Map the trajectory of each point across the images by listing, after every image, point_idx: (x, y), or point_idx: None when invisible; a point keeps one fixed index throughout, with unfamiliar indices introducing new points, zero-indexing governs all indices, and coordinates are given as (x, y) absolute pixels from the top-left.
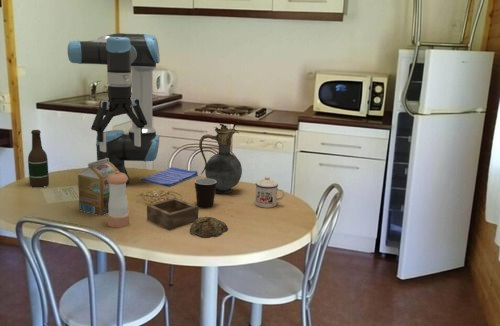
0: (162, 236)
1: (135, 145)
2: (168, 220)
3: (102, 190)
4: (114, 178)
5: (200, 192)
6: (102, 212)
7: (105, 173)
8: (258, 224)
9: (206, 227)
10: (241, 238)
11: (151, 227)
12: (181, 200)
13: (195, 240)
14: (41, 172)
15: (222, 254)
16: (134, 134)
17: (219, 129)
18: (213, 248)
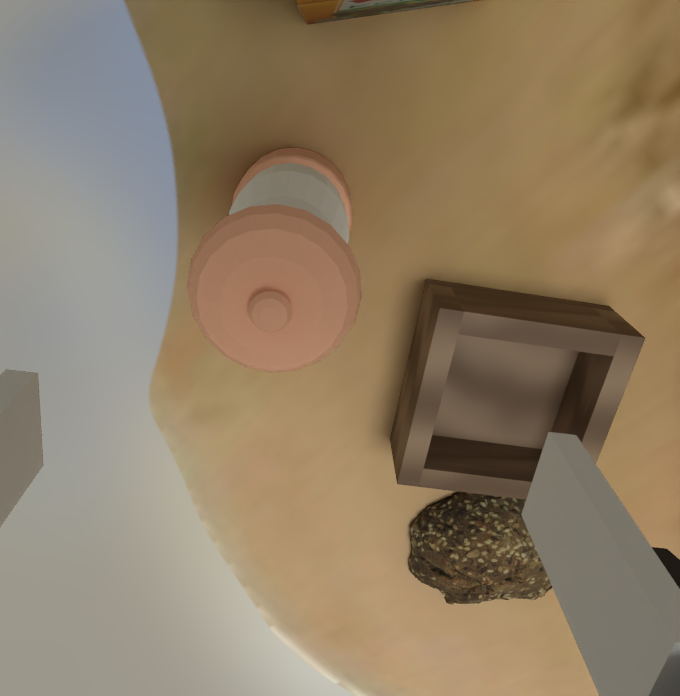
0: (320, 458)
1: (542, 454)
2: (396, 458)
3: (326, 10)
4: (207, 337)
5: None
6: (319, 21)
7: None
8: None
9: (447, 586)
10: (490, 651)
11: (364, 361)
12: (620, 391)
13: (373, 562)
14: None
15: (339, 672)
16: (609, 540)
17: None
18: (358, 634)
